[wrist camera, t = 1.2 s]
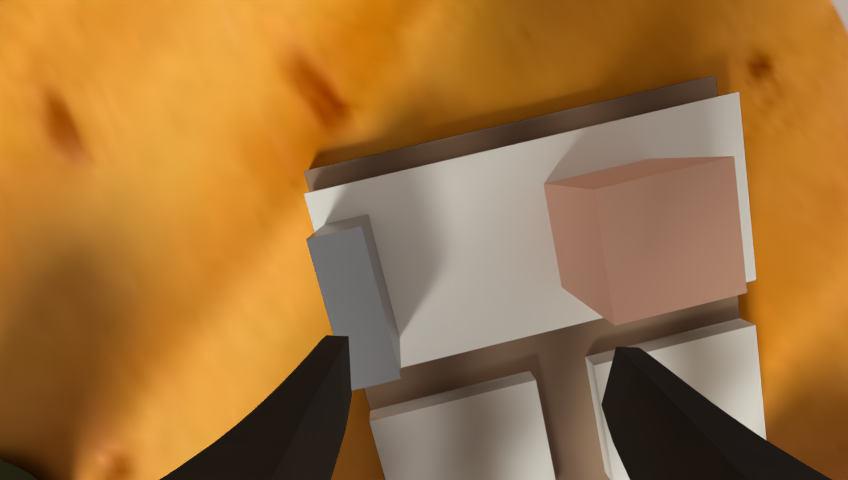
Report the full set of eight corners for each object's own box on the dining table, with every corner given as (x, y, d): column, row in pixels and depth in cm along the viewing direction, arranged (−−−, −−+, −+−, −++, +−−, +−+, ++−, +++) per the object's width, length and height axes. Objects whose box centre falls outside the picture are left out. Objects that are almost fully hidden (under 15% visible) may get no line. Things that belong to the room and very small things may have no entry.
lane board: (407, 532, 25) (409, 563, 23) (307, 170, 21) (299, 171, 19) (740, 446, 25) (769, 470, 23) (700, 79, 22) (731, 70, 20)
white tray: (357, 369, 21) (346, 429, 17) (308, 192, 20) (280, 201, 15) (740, 274, 22) (839, 306, 17) (722, 95, 20) (826, 73, 16)
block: (561, 287, 20) (615, 325, 16) (543, 183, 20) (593, 189, 15) (663, 262, 21) (747, 292, 16) (649, 158, 20) (734, 156, 15)
